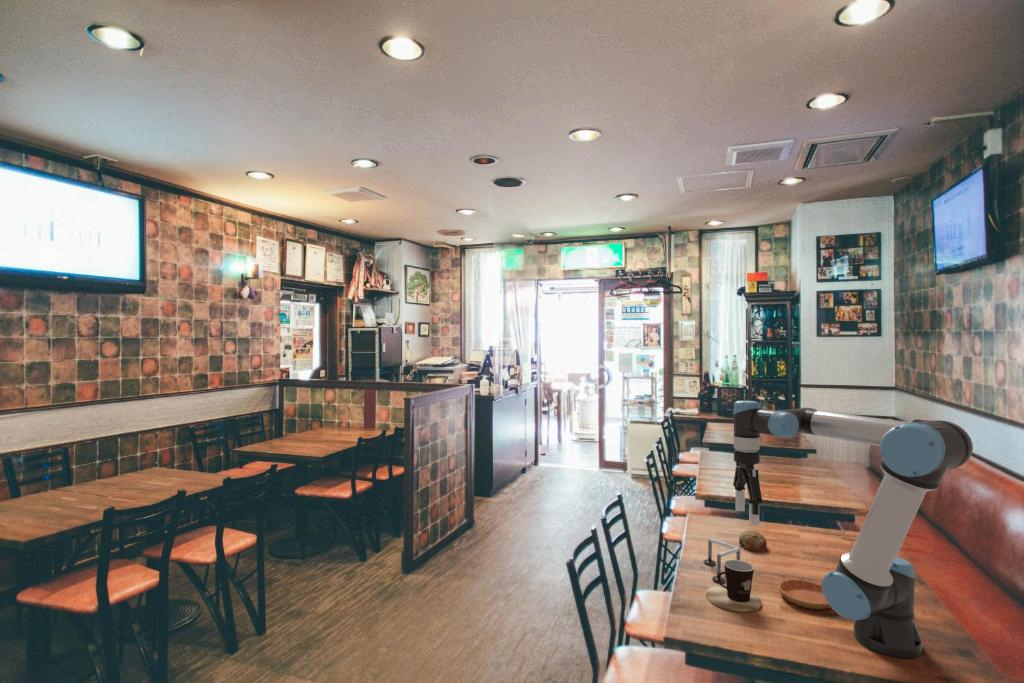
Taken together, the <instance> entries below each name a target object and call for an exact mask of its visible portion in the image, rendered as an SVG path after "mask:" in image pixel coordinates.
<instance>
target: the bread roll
mask: <svg viewBox="0 0 1024 683" xmlns="http://www.w3.org/2000/svg"><path fill="white" fill-rule="evenodd" d="M738 544H739V547H740V546H741V548H743V547H744V548H743V549H745V548H746V549H745V550H748V551H750V550H753V551H752V552H762V551H761V550H763V551H766V549H767V546H768V543H767V539H766V537H764V535H763V534H761V533H760V532H758V531H755V530H745V531H743V532H741V534H740V535H739V538H738Z"/></svg>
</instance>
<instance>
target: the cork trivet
mask: <svg viewBox="0 0 1024 683" xmlns="http://www.w3.org/2000/svg"><path fill="white" fill-rule="evenodd" d="M723 585H724V586H725V587H727V586H726V584H723ZM705 593H706V594H705V595H706V596H705V597H706V599H707V601H708V602H710V603H711V604H712V603H713V604H712V605H714V606H715V607H718V608H720V609H722V610H725V609H726V611H729V612H732V613H733V612H735V613H743V614H744V613H747V612H748V613H754V612H757V611H759V610H760V609H761V608H762V599H761V597H759V595H757V594H756V593H755V592H753V591H751V593H750V600H749V601H748V602H736V601H733V600H731V599H730V598H728V595H727V589H725V588H724V587H722V586H721V585H720V584H718V585H717V584H716V585H713V586H710V587H708V588H707V589H706V592H705ZM760 607H761V608H760ZM759 608H760V609H759ZM758 609H759V610H758ZM756 610H757V611H756ZM753 611H754V612H753Z"/></svg>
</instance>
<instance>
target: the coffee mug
mask: <svg viewBox="0 0 1024 683" xmlns="http://www.w3.org/2000/svg"><path fill="white" fill-rule="evenodd" d="M723 568H724V571H721V573H720V574H719V575H718V578H717V580H718V583H717V584H718V585H721V586H722V587H724V588H725V589H727V595H728V598H730V599H731V600H733V601H736V602H748V601H749V600H750V593H751V592H752V585H753V578H754V571H755V567H754V565H753V564H751V563H749V562H747V561H743V560H741V559H740V560H736V559H727V560H725V561H724V562H723ZM722 575H725V577H724V578H725V584H723V583H721V582H720V580H719V579H720V576H721V577H722ZM724 585H726V586H727V587H725V586H724Z"/></svg>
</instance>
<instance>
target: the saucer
mask: <svg viewBox="0 0 1024 683" xmlns="http://www.w3.org/2000/svg"><path fill="white" fill-rule="evenodd" d="M778 591H779V593H780V594H781V595H782V596H783V597H784V598H785V600H787V601H788V602H789V601H790V602H789V603H791V604H793V603H794V604H793V605H795V604H796V605H795V606H797V605H798V606H797V607H800V606H801V607H800V608H803V607H804V608H803V609H807V608H809V609H808V610H813V609H816V610H815V611H823V609H824V610H827V609H829V608H831V606H830V605H829V604H828V602H827V601H826V597H825V596H824V594H823V591H822V584H819V583H816V582H814V581H810V580H804V579H787V580H782V581H781V582H780V583H778Z"/></svg>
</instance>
